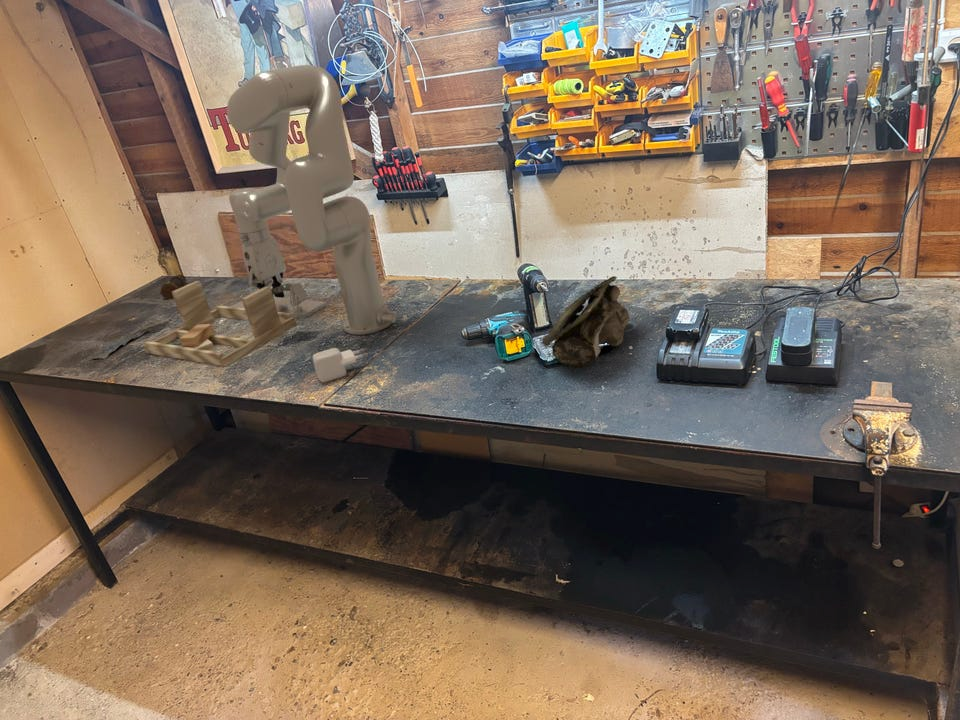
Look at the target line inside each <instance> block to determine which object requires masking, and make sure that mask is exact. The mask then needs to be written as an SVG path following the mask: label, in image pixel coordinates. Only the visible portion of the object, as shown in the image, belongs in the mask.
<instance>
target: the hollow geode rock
mask: <svg viewBox="0 0 960 720" xmlns="http://www.w3.org/2000/svg"><path fill="white" fill-rule="evenodd" d="M616 279H618V277H617V276H615V275H613V276H610V277H609V278H607V279H606V280H605V279H604V280H602V282H600V283H599V284H597V285H596V286H594V287H593V288H591V289H590V290H589V291H587V292H586V293H585V294H583V295H581V296H579V297H578V298H577V299H575V300H574V301H573V302H572V303H570V304H569V306H567V307H566V309H565V310H564V312H563V313H561V315H560V316H559V317H558V320H557V321H556V323H555V324H553V327H552V328H551V329H550V331H549V332H548V333H547V334H546V335H545V336H544V337H543V338H542V342H541V343H542V344H543V345H544V346H545V347H548V346H550V345H551V343H552V342H553V344H552V346H551V349H552V356H553V357H554V358H555V359H556V360H557V361H558V362H559V363H561V364H563V365H566V366H569V367H572V368H573V369H574V370H575V369H577V370H578V369H580V370H581V369H584V368H585V367H587V366H589V365H591V364H592V363H596V360H597V358H598V356H599V354H600V353H601V350H602V348H603V347H600V346H599V344H605V343H607V344H609V345H608V346H610V345H611V347H616V346H619V345H620V344H622V342H623V341H624V335H625V331H624V330H625V329H626V326H628V325H627V324H628V323H629V322H630V314H629V311H628V310H627V309H626V308H625V307H624V306H622V304H621V303H620V302H618V298H619V297H620V295H621V290H620V288H619V286H617V285H615V284H612V285H611V283H612V282H615V281H616ZM587 301H588V302H587ZM586 302H587V305H586V306H585V304H586ZM579 313H580V314H579Z"/></svg>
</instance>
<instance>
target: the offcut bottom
mask: <svg viewBox="0 0 960 720" xmlns="http://www.w3.org/2000/svg"><path fill="white" fill-rule="evenodd" d="M189 348H195V349H201V350H208V351H214V352H217V351H216V349H215V346H214V343H212V342H211V341H209V340H208V339H206V340H205V341H204V342H203V343H202V344H200V345H199V346H198V347H189Z"/></svg>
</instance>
